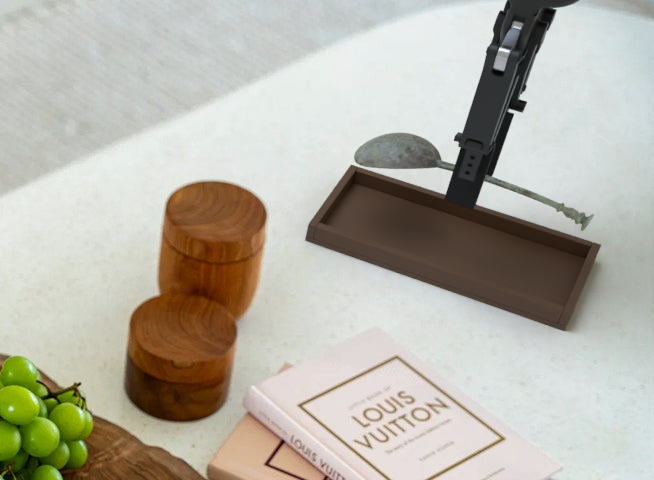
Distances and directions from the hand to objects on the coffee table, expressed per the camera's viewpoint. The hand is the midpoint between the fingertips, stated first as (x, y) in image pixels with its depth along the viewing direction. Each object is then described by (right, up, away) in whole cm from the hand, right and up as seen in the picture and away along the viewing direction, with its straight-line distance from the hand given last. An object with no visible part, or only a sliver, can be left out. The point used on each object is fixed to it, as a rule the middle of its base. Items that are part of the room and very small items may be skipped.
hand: (469, 186), depth 106 cm
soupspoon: (0, 0, 0) cm, 0 cm away
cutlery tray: (0, -5, +5) cm, 7 cm away
